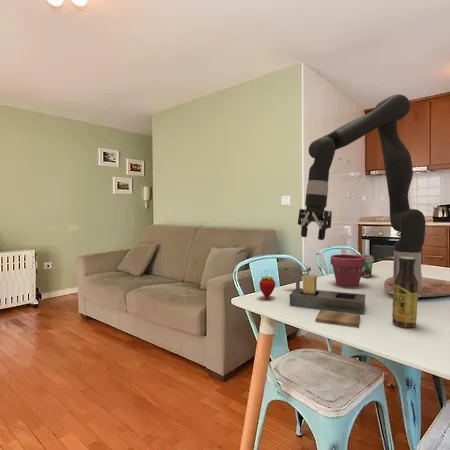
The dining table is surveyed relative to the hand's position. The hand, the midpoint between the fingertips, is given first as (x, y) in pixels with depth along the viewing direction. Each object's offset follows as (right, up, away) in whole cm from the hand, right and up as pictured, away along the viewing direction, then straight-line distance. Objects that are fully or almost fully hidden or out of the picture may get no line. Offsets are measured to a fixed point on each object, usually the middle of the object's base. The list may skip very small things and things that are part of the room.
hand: (312, 238), depth 119 cm
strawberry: (-16, -23, +5) cm, 28 cm away
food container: (+38, -21, +42) cm, 60 cm away
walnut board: (+3, -24, -19) cm, 31 cm away
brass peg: (-2, -23, -3) cm, 24 cm away
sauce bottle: (+20, -24, -24) cm, 40 cm away
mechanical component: (-2, -22, +16) cm, 28 cm away
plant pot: (+22, -22, +24) cm, 39 cm away
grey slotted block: (+4, -23, -5) cm, 24 cm away
